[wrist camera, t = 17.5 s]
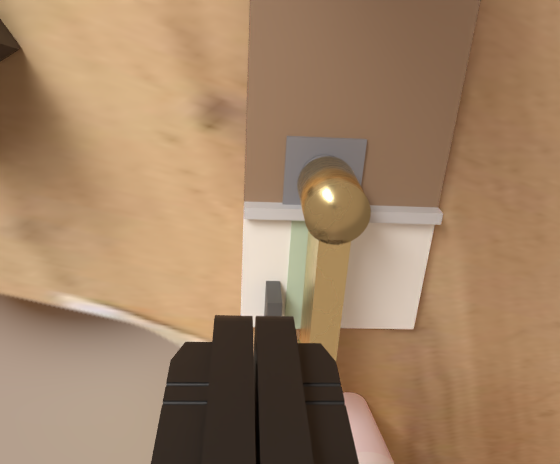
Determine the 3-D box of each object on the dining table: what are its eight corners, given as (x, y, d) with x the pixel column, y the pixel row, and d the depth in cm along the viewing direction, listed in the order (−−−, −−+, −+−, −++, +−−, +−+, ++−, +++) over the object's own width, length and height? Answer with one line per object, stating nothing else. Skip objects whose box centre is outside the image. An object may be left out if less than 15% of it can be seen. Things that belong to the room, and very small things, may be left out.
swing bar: (299, 155, 32) (307, 183, 28) (358, 157, 32) (375, 185, 28) (285, 353, 39) (290, 400, 34) (334, 353, 39) (345, 400, 35)
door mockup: (251, -49, 30) (252, -51, 26) (480, -34, 31) (509, -34, 27) (240, 318, 40) (240, 351, 37) (409, 321, 41) (424, 353, 38)
